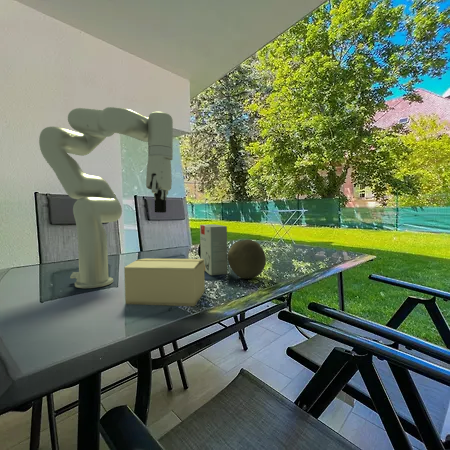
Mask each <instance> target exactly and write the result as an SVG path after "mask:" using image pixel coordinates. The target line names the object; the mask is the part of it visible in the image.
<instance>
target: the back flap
mask: <svg viewBox="0 0 450 450" xmlns="http://www.w3.org/2000/svg"><path fill="white" fill-rule="evenodd" d="M135 261H191V262H202V261H204V259H201V258H140V259H135Z"/></svg>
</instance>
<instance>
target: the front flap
mask: <svg viewBox="0 0 450 450" xmlns="http://www.w3.org/2000/svg"><path fill="white" fill-rule="evenodd" d="M198 264H199V262H191V261H136V260H134V261H133V262H131V263H129V264H128V265H126V266H124V269H156V270H194V269H195V268H196V267H197V266H198Z"/></svg>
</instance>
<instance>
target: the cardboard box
mask: <svg viewBox="0 0 450 450" xmlns="http://www.w3.org/2000/svg"><path fill="white" fill-rule="evenodd" d="M205 276H206V275H205V270H204V261H202V262H199V264H198V266H197V267H196V268H195V269H194V270H156V269H124V292H125V293H124V295H125V305H138V306H139V305H142V306H145V305H146V306H167V307H168V306H170V307H171V306H172V307H173V306H174V307H177V306H178V307H195V306H196V305H197V303H199V301H200V300H201V298H202V296H203V294H204V293H205V289H206V288H205V287H206V284H205V283H206V282H205Z"/></svg>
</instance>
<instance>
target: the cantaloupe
mask: <svg viewBox="0 0 450 450" xmlns="http://www.w3.org/2000/svg"><path fill="white" fill-rule="evenodd" d="M266 259H267V258H266V253H265V252H264V248H263V247H262V246H261V244H260V243H258V242H257V241H255V240H253V239H242V240H239V241H236V242H234V243H233V244H232V245H231V247H230V248H229V249H228V251H227V263H228V265H229V268H230V269H231V271H232V272H233V273H234V274H235V275H236V276H238V277H240V278H241V279H245V280H246V279H247V280H250V279H254V278H257V277H258V276H259V275H261V274H262V272H263V271H264V270H265V267H266V264H267V260H266Z"/></svg>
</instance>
